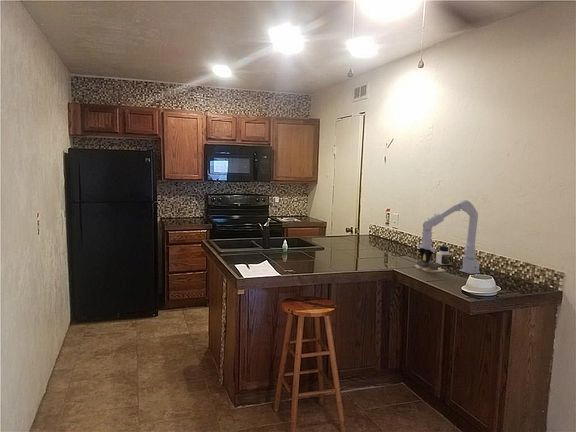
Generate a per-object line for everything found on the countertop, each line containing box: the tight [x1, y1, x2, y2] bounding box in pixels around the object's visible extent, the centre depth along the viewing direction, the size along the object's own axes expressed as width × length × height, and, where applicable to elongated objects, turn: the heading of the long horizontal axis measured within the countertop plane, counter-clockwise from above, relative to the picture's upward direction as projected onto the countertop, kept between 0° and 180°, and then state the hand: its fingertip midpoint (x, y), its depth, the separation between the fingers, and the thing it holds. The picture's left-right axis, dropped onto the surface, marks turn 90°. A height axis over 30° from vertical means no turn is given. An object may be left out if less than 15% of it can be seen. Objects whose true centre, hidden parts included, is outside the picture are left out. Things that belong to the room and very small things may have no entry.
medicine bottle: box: [435, 245, 452, 266], centre depth 294 cm, size 7×7×12 cm
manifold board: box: [412, 259, 446, 274], centre depth 277 cm, size 17×11×4 cm, turn 20°
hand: (425, 260), depth 281 cm, fingers open, 4 cm apart
